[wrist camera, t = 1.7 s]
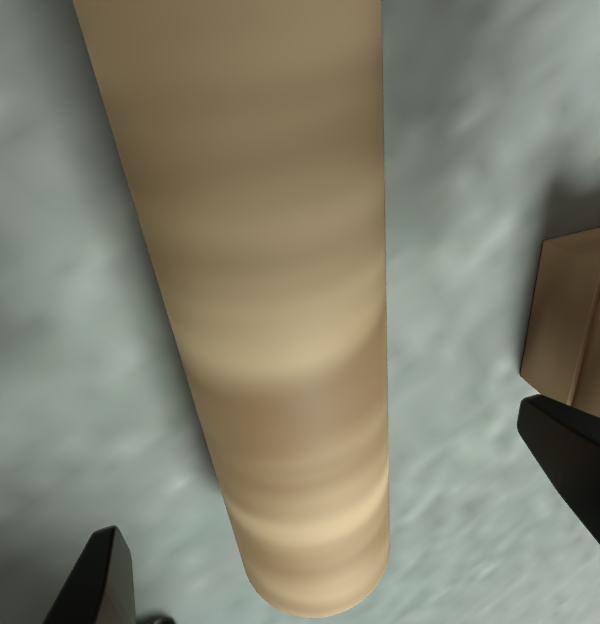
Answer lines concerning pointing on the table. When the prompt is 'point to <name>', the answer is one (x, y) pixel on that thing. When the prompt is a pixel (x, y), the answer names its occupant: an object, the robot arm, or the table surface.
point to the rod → (268, 262)
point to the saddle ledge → (566, 323)
